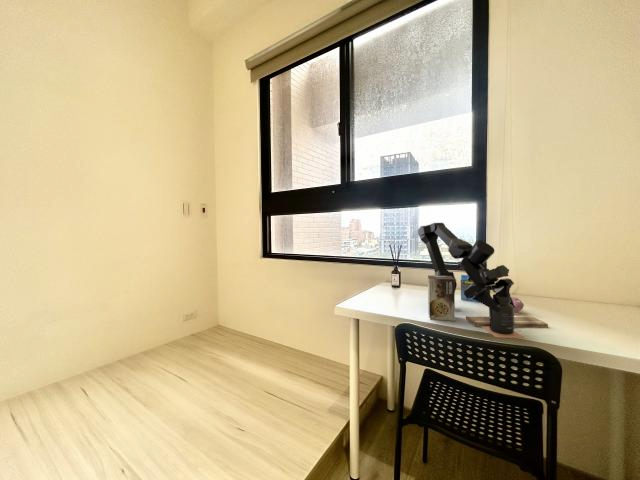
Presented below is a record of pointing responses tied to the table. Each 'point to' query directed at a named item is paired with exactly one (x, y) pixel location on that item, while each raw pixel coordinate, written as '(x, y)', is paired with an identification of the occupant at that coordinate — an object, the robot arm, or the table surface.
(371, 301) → the table surface
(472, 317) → the walnut board
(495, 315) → the supplement bottle
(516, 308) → the video game controller
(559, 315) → the table surface
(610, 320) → the table surface
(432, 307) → the coffee box
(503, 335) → the end pad
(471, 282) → the label tape box
